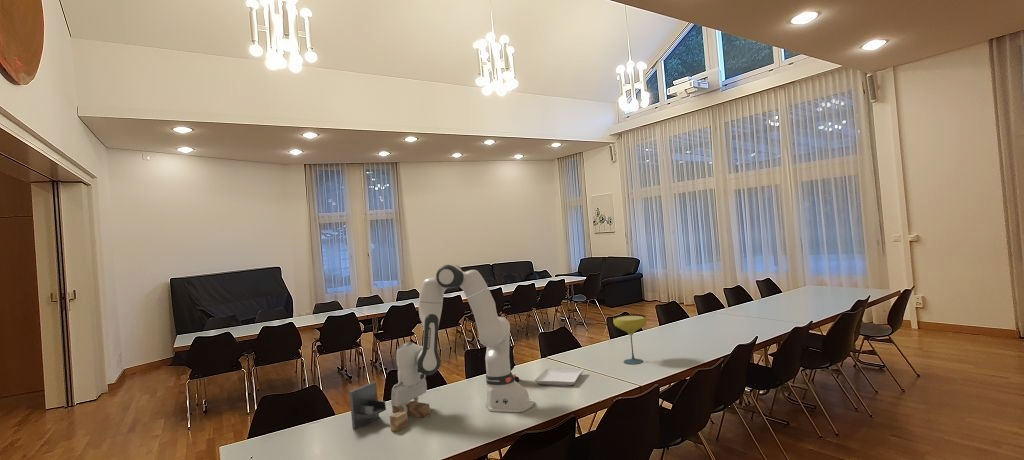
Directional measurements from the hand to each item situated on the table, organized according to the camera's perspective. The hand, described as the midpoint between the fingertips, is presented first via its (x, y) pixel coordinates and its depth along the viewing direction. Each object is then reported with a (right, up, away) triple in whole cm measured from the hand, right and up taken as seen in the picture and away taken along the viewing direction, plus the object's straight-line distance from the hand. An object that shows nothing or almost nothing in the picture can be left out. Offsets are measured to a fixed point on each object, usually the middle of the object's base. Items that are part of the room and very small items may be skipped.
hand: (410, 409), depth 219 cm
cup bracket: (-15, -3, -9) cm, 17 cm away
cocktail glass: (+114, +8, +50) cm, 125 cm away
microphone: (+43, +1, +35) cm, 56 cm away
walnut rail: (0, -2, 0) cm, 2 cm away
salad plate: (+71, +4, +29) cm, 77 cm away
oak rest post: (-1, -2, -16) cm, 17 cm away
